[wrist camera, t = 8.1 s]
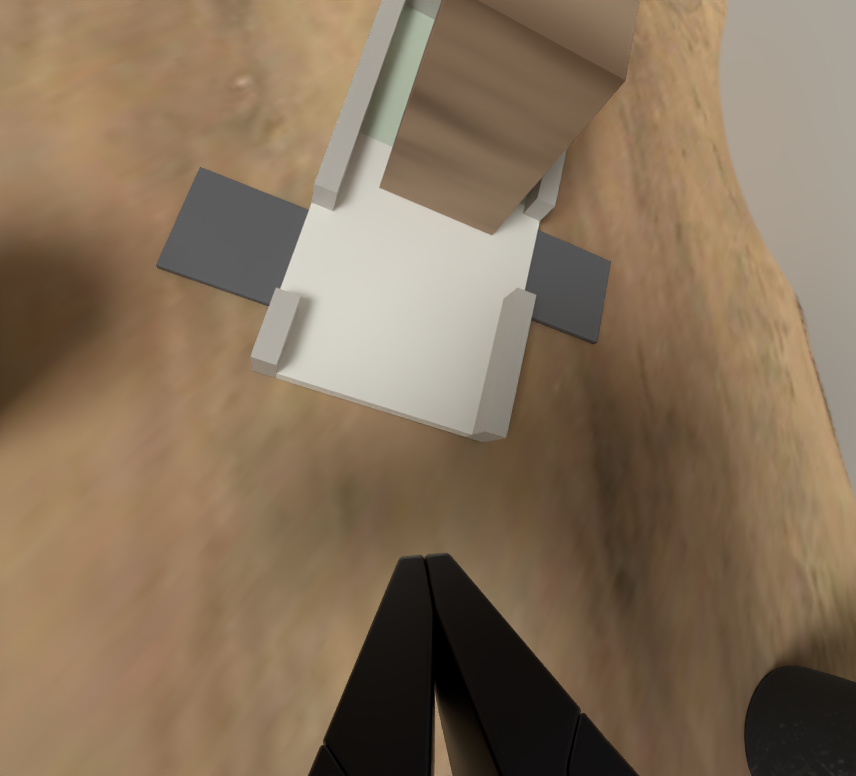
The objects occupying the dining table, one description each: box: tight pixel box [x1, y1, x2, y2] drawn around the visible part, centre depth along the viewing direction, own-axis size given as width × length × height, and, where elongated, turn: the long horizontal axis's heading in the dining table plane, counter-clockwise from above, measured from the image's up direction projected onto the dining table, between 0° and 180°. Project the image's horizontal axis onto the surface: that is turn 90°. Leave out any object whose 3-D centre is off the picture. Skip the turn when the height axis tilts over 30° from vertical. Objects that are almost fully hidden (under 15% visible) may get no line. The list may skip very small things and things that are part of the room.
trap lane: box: [156, 0, 611, 443], centre depth 23 cm, size 22×21×4 cm
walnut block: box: [379, 0, 640, 235], centre depth 20 cm, size 9×6×10 cm, turn 165°
